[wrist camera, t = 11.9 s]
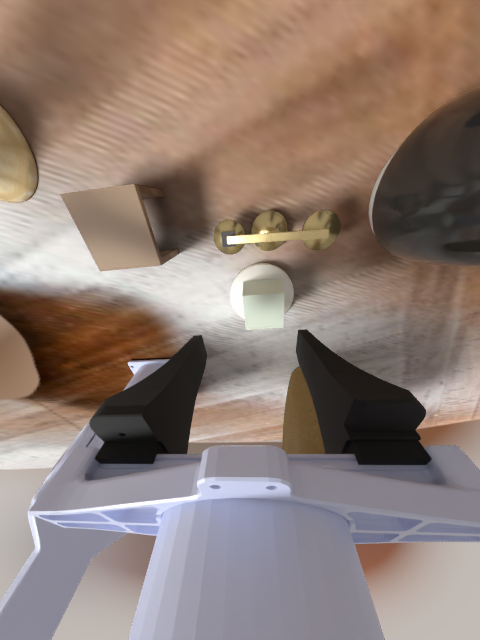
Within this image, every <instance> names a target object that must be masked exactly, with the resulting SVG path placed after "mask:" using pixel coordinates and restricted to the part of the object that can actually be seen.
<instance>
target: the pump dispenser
mask: <svg viewBox="0 0 480 640" xmlns="http://www.w3.org/2000/svg"><path fill="white" fill-rule="evenodd" d="M369 221H370V225H371V228H372V231H373V233H374V234H375V236H376V239H377V241H378V242H379V244H380V245H381V246H382V248H383V249H384V250H386V251H387V252H388V253H390V254H392V255H394V256H396V257H399V258H402V259H405V260H409V261H414V262H420V263H428V264H436V265H447V266H462V267H480V85H479V86H477V87H475V88H473V89H471V90H469V91H467V92H465V93H463V94H461V95H459V96H457V97H456V98H454V99H452V100H450V101H449V102H447V103H446V104H444V105H443V106H441V107H440V108H439V109H437V110H436V111H435V112H433V113H432V114H431V115H430V116H428V117H427V118H426V119H425V120H424V121H423V122H422V123H421V124H420V125H419V126H418V127H417V128H416V129H415V130H414V131H413V132H412V133H411V134H410V135H409V136H408V137H407V138H406V140H405V141H404V142H403V143H402V145H401V146H400V147H399V148H398V149H397V150H396V152H395V153H394V154H393V155H392V156H391V158H390V159H389V161H388V162H387V163H386V165H385V166H384V168H383V169H382V171H381V173H380V175H379V177H378V179H377V181H376V183H375V185H374V188H373V191H372V194H371V198H370V203H369Z"/></svg>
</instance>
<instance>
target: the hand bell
mask: <svg viewBox="0 0 480 640" xmlns="http://www.w3.org/2000/svg"><path fill="white" fill-rule="evenodd" d="M37 179H38V177H37V168H36V163H35V160H34V157H33V154H32V152H31V149H30V147H29V145H28V143H27V141H26V139H25V137H24V136H23V134H22V132H21V131H20V129H19V128H18V126H17V125H16V123H15V122H14V121H13V119H12V118H11V117H10V115H9V114H8V113H7V112H6V111H5V110H4V108H3V107H2V106H1V105H0V200H1V201H4V202H10V203H20V202H23V201H27V200H28V199H29V198H30V197H31V196H32V195H33V194H34V192H35V190H36V187H37Z"/></svg>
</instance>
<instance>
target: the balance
mask: <svg viewBox="0 0 480 640" xmlns="http://www.w3.org/2000/svg"><path fill="white" fill-rule="evenodd" d="M339 231H340V220H339V218H338V216H337V215H336V214H335V213H334V212H332V211H330V210H320V211H317V212H315V213H313V214H312V215H311V216H310V217H309V218H308V219H307V220H306V222H305V223H304V225H303V228H302V230H300V231H288V226H287V222H286V220H285V218H284V217H283V216H282V215H281V214H280V213H278V212H276V211H265V212H263V213H261V214H260V215H258V216H257V218H256V219H255V220H254V222H253V225H252V229H251V234H247V235H245V231H244V229H243V227H242V226H241V224H240V223H238V222H237V221H235V220H231V219H228V220H224V221H222V222H220V223H219V224H218V225H217V227H216V228H215V231H214V242H215V244H216V246H217V248H218V249H219V250H220V251H221V252H223V253H225V254H235V253H237V252H239V251H240V250H241V249H242V248H243V246H244V244H245V243H255V244H256V246H257V247H259V248H260V249H262V250H266V251H271V250H274V249H276V248H278V247H279V246H281V245H282V243H283V242H284V241H288V240H303V242H304V244H305V245H306V246H307V247H308V248H310V249H312V250H323V249H325V248H327V247H329V246H330V245H331V244H332V243H333V242H334V241H335V240H336V238H337V237H338V234H339Z"/></svg>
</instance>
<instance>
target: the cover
mask: <svg viewBox="0 0 480 640" xmlns="http://www.w3.org/2000/svg"><path fill="white" fill-rule="evenodd" d="M60 195H61V197H62V199H63V201H64V202H65V204H66V206H67V208H68V210H69V212H70V214H71V216H72V218H73V220H74V222H75V224H76V226H77V228H78V230H79V231H80V233H81V235H82V237H83V239H84V241H85V243H86V245H87V247H88V249H89V251H90V253H91V255H92V257H93V259H94V260H95V262H96V264H97V266H98V268H99V270H100V271H109V270H119V269H129V268H139V267H149V266H160V265H162V264H164V263H165V262H167V261H168V260H170V259H172V258H173V257H175V256H176V255H178V254H179V250H178V249H171V250H161V251H159V250H158V246H157V243H156V240H155V237H154V234H153V231H152V228H151V225H150V222H149V219H148V216H147V212H146V209H145V206H144V203H143V199H150V198H158V197H164V194H163V190H159V189H154V188H150V187H146V186H141V185H137V184H129V185H122V186H115V187H108V188H101V189H93V190H86V191H79V192H72V193H65V194H60Z"/></svg>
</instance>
